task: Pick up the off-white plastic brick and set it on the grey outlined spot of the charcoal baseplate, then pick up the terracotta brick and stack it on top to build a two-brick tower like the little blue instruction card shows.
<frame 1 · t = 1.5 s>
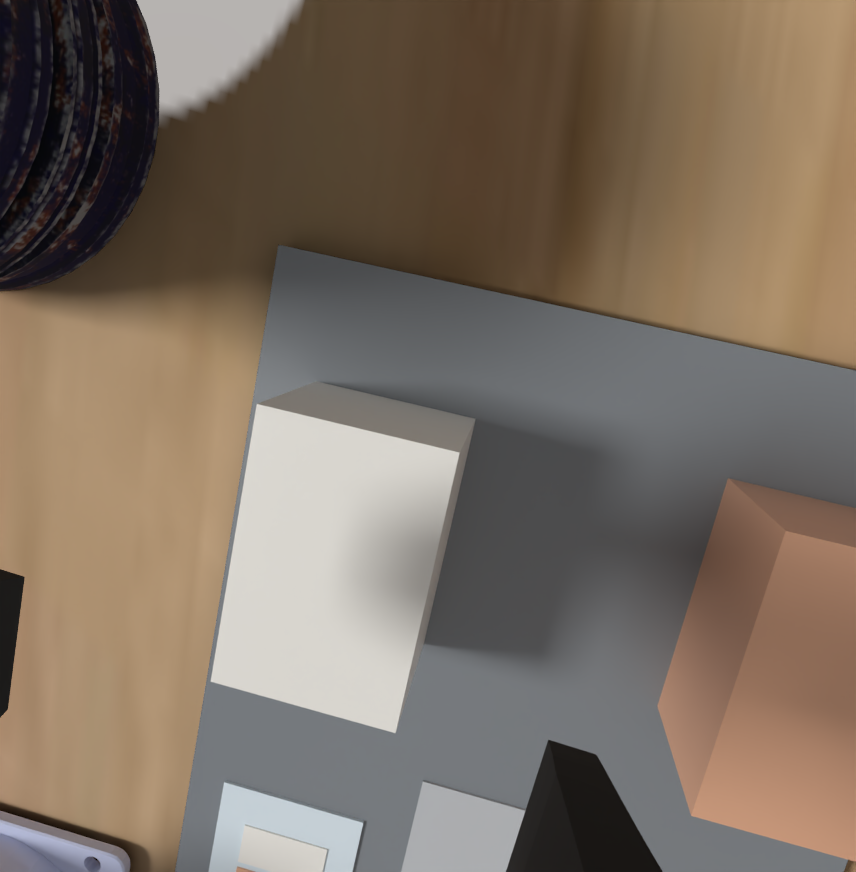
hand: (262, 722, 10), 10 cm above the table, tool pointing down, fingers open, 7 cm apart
terracotta brick: (775, 617, 18), point 1 cm above the table, touching baseplate
baseplate: (529, 696, 19), on the table
off-white brick: (371, 515, 18), point 1 cm above the table, touching baseplate
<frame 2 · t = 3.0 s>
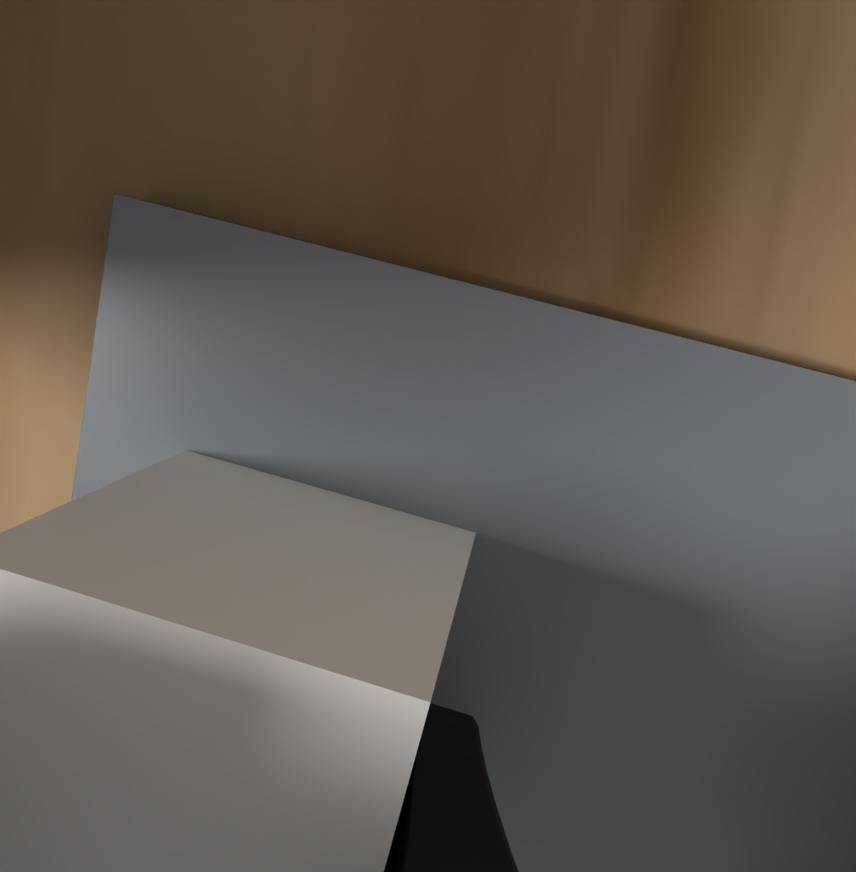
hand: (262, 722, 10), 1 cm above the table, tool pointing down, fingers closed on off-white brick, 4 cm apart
off-white brick: (283, 689, 10), point 1 cm above the table, touching baseplate, gripper
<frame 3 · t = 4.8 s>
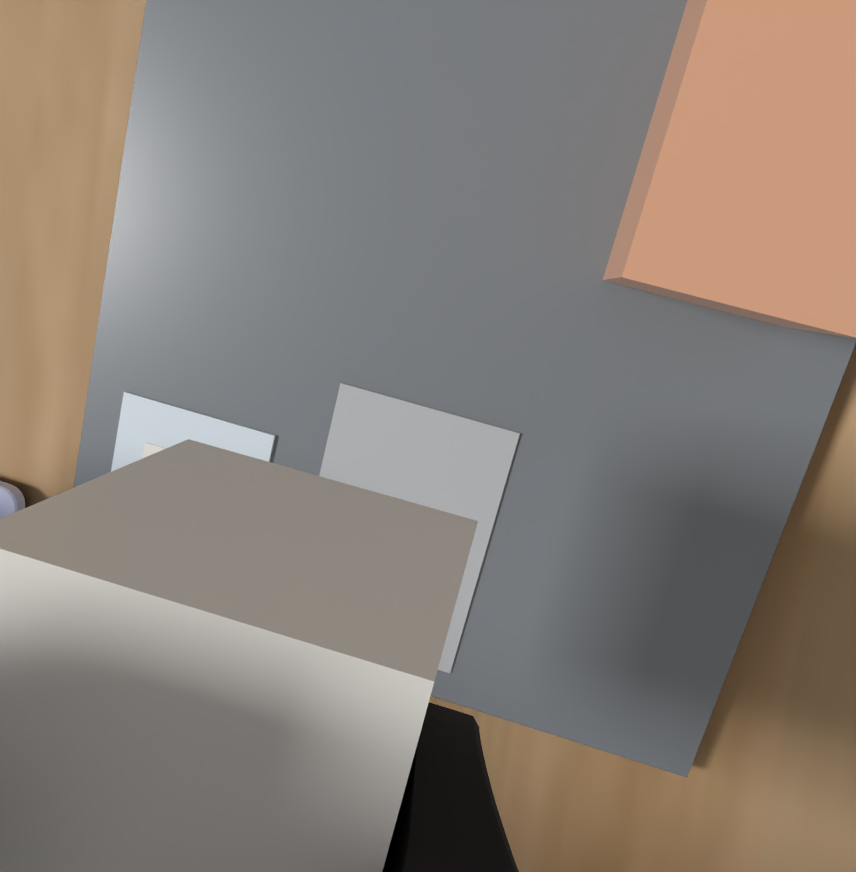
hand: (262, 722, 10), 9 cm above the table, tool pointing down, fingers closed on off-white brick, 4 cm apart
terracotta brick: (739, 162, 15), point 1 cm above the table, touching baseplate
baseplate: (462, 290, 17), on the table
off-white brick: (286, 679, 10), point 9 cm above the table, touching gripper
when the fingers open (2 cm above the table, at t = 6.6 s): off-white brick stays where it is, resting on baseplate.
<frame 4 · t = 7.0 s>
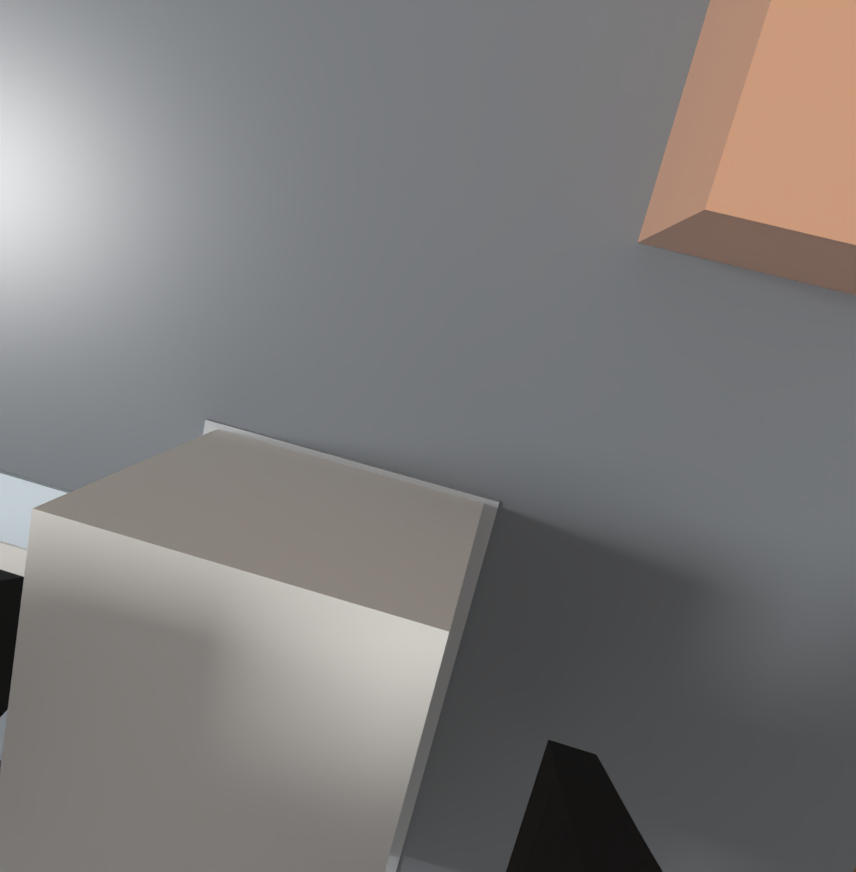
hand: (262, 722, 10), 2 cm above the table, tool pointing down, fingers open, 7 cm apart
baseplate: (403, 265, 11), on the table
off-white brick: (306, 651, 11), point 1 cm above the table, touching baseplate
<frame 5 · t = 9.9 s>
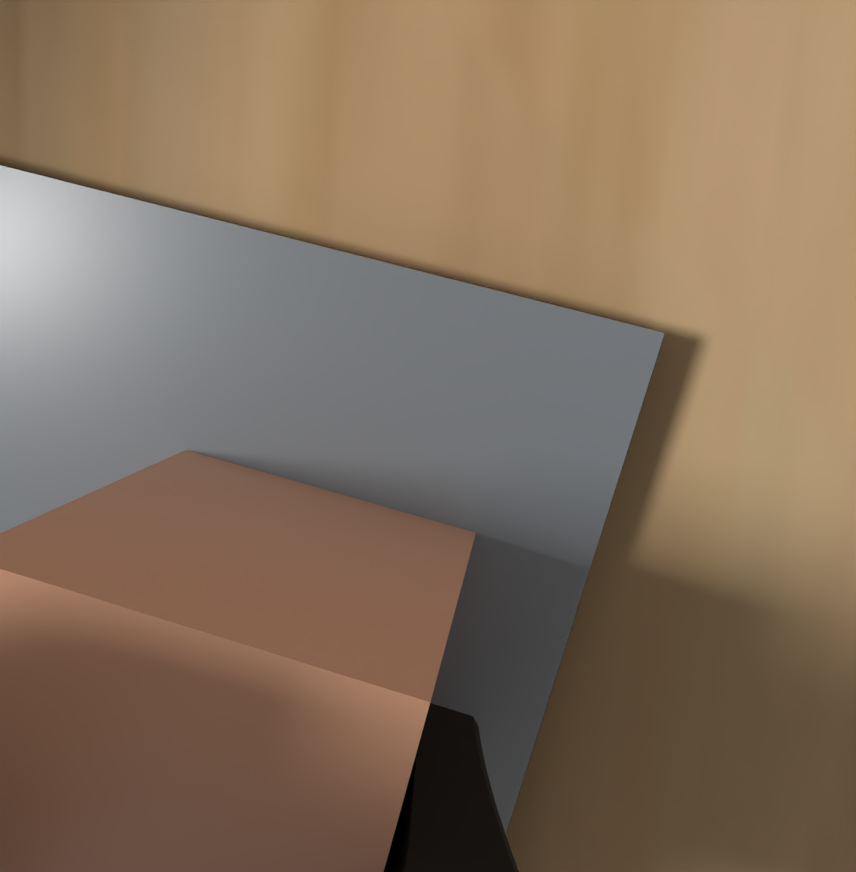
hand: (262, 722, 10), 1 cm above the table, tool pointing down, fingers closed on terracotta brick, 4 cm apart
terracotta brick: (283, 689, 10), point 1 cm above the table, touching baseplate, gripper
when the fingers open (6 cm above the table, at t = 12.5 s): terracotta brick stays where it is, resting on off-white brick.
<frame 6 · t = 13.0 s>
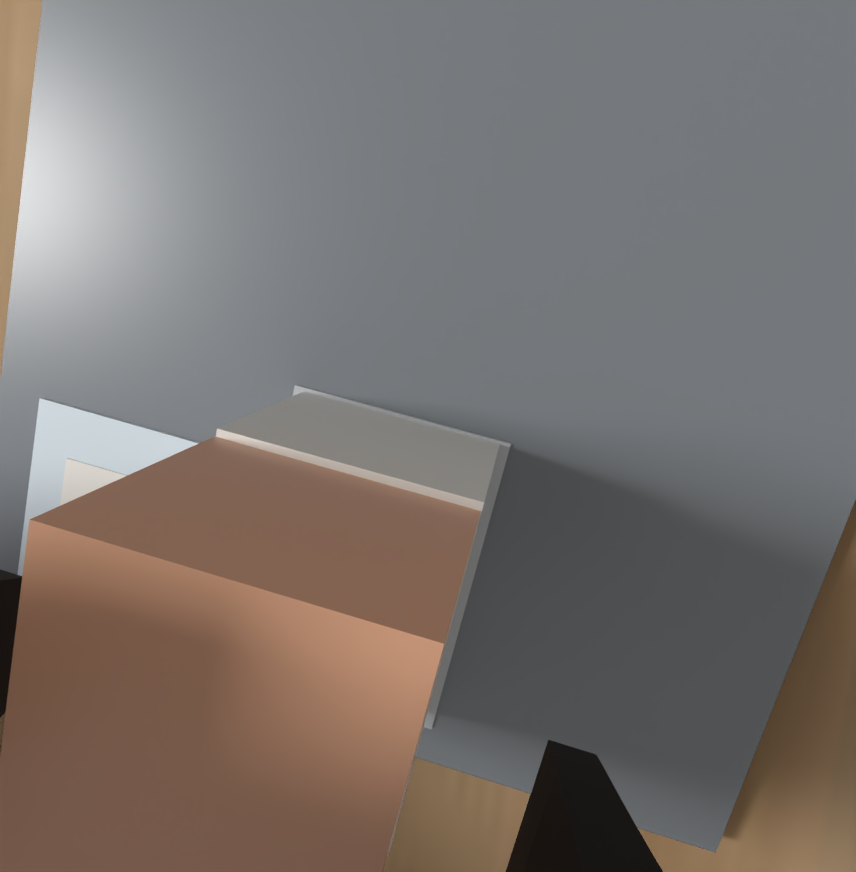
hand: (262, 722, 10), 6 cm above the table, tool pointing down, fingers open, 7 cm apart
terracotta brick: (303, 657, 11), point 5 cm above the table, touching off-white brick
baseplate: (440, 271, 14), on the table
off-white brick: (367, 557, 15), point 1 cm above the table, touching baseplate, terracotta brick
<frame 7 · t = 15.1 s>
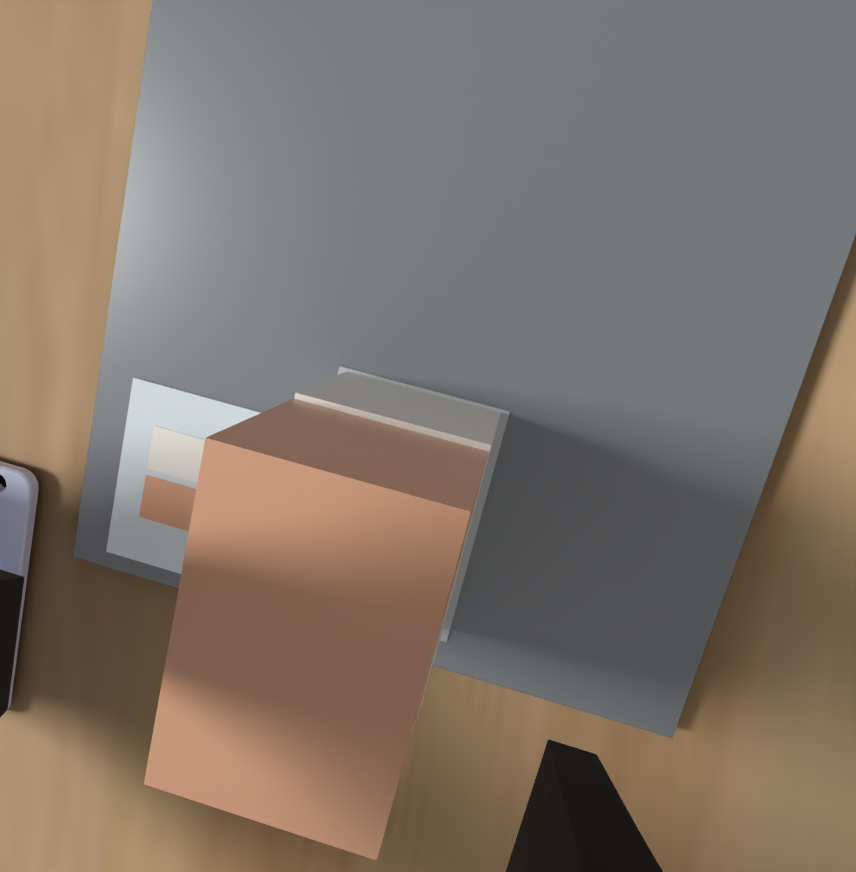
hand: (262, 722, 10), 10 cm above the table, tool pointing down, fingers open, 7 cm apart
terracotta brick: (357, 563, 15), point 5 cm above the table, touching off-white brick
baseplate: (454, 276, 18), on the table
off-white brick: (395, 503, 19), point 1 cm above the table, touching baseplate, terracotta brick
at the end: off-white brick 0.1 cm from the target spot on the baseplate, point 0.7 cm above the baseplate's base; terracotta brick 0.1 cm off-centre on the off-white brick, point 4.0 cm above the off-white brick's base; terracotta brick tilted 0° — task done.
